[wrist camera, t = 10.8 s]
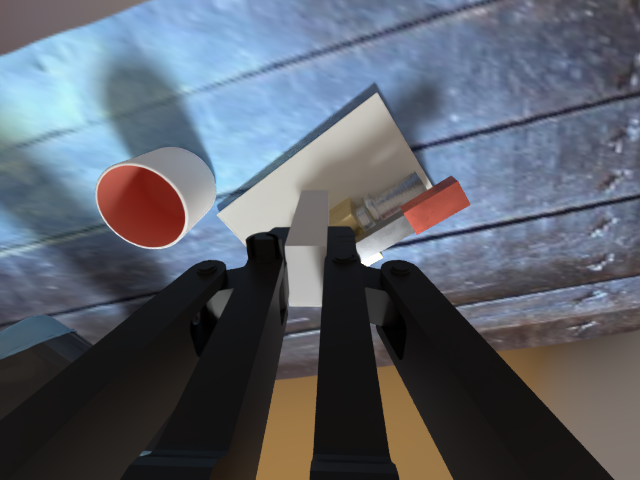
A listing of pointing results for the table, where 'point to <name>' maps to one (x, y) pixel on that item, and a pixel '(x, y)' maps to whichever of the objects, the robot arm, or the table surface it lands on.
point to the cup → (155, 196)
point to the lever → (413, 217)
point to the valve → (376, 208)
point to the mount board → (329, 170)
